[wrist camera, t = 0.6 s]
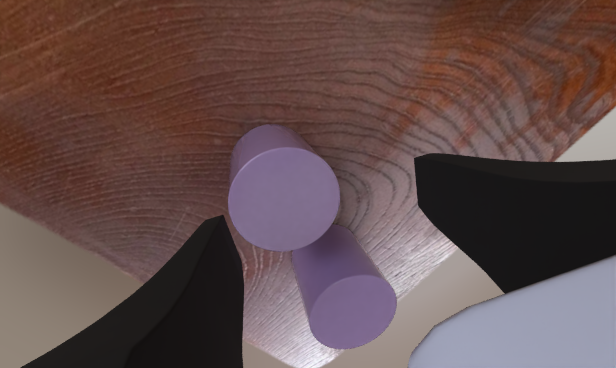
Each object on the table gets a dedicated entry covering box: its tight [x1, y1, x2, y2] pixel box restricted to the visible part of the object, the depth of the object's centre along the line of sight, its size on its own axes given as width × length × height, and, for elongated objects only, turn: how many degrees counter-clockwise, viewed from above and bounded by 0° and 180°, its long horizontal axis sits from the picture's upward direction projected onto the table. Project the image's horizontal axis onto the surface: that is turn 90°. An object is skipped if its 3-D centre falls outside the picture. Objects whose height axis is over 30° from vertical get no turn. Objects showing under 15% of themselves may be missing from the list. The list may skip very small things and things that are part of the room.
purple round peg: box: [291, 224, 397, 349], centre depth 20 cm, size 5×5×6 cm
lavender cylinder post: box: [228, 124, 340, 252], centre depth 17 cm, size 5×5×6 cm
